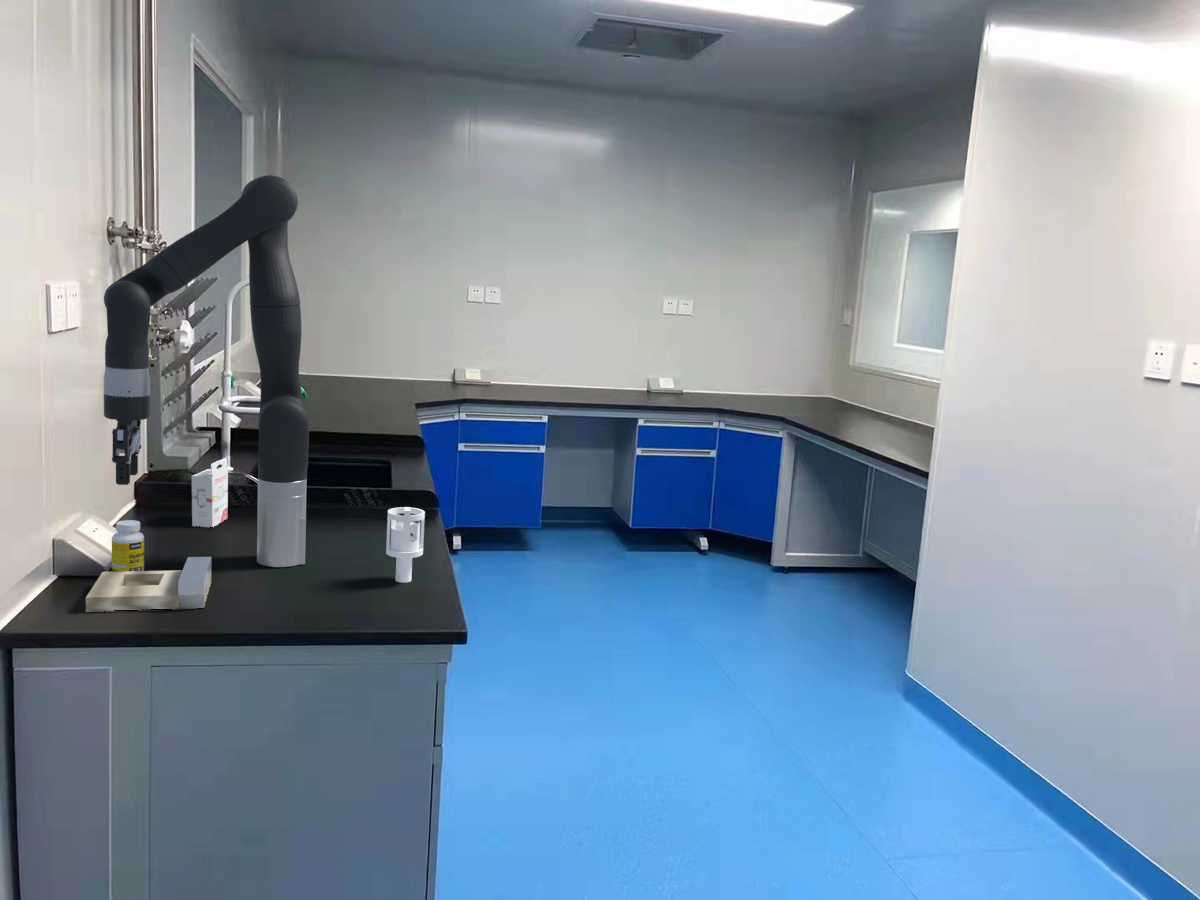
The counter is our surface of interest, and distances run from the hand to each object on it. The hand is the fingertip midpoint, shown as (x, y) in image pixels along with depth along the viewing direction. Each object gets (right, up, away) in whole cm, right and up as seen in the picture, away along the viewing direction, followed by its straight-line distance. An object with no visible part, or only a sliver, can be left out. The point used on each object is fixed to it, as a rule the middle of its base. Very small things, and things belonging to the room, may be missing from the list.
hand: (127, 479), depth 171 cm
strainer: (+49, -20, +11) cm, 54 cm away
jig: (+9, -20, -8) cm, 24 cm away
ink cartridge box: (-2, -11, +41) cm, 43 cm away
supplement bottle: (-1, -18, +3) cm, 18 cm away
